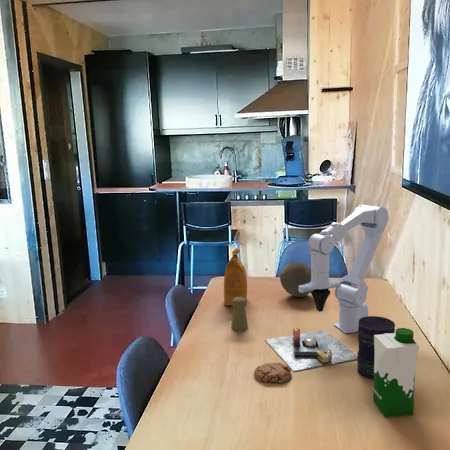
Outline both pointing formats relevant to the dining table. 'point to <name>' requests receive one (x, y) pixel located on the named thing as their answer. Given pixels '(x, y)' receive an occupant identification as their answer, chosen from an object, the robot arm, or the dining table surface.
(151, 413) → the dining table surface
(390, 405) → the milk carton
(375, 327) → the storage jar
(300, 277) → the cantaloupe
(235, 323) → the olive green shaker
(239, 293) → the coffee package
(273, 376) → the cookie
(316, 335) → the post base
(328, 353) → the dowel pin
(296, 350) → the metal parts fixture
